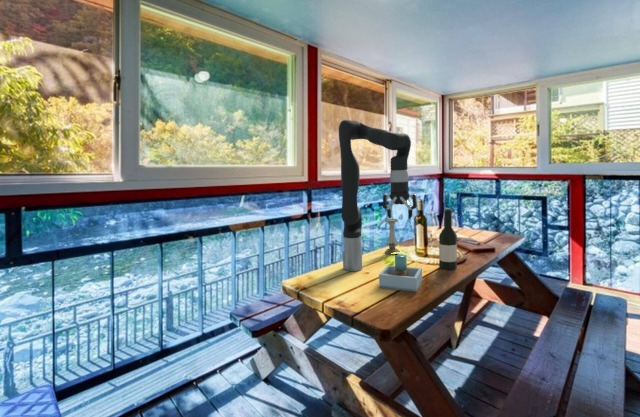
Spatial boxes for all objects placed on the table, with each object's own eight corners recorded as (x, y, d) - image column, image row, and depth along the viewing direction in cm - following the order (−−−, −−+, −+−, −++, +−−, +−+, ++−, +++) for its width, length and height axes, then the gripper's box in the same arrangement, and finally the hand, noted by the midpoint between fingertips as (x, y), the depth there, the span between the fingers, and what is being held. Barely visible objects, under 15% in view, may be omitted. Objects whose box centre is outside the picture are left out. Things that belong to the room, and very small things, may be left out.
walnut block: (392, 284, 149) (392, 270, 148) (396, 278, 155) (396, 266, 154) (405, 285, 146) (405, 272, 146) (408, 280, 153) (408, 267, 152)
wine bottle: (458, 270, 165) (458, 209, 161) (440, 270, 167) (440, 210, 163) (455, 265, 173) (455, 207, 169) (438, 265, 175) (437, 207, 171)
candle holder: (388, 255, 197) (387, 221, 195) (382, 252, 206) (381, 219, 203) (402, 254, 199) (401, 220, 196) (396, 250, 207) (395, 218, 205)
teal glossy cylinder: (394, 270, 149) (393, 257, 148) (396, 266, 153) (396, 254, 152) (405, 271, 146) (405, 257, 146) (407, 267, 151) (407, 254, 150)
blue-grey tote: (379, 287, 148) (379, 274, 147) (387, 277, 160) (387, 265, 160) (416, 292, 141) (416, 278, 140) (422, 281, 153) (422, 268, 153)
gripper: (380, 181, 144) (381, 219, 146) (414, 181, 138) (415, 220, 140) (385, 180, 151) (385, 216, 153) (417, 179, 145) (418, 217, 147)
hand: (399, 218), depth 147 cm, fingers open, 8 cm apart
